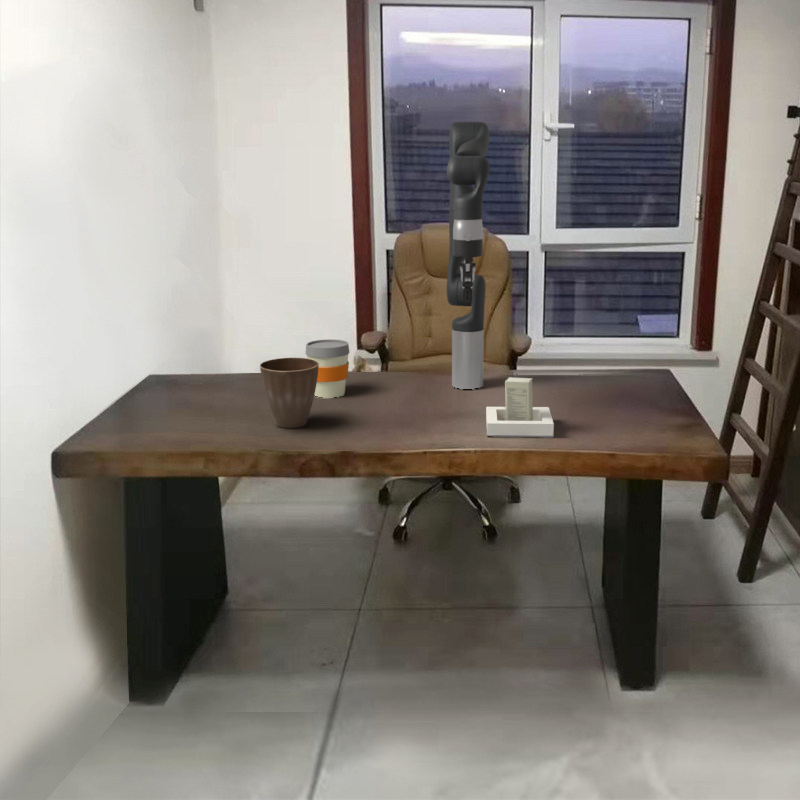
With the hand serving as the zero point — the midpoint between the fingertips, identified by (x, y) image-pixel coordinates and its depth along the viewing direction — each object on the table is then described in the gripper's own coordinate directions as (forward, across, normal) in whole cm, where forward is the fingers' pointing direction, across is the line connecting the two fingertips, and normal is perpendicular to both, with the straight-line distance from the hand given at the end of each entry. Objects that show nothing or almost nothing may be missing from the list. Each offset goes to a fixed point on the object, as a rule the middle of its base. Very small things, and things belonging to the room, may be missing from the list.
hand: (467, 300), depth 233 cm
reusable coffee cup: (+30, -18, -40) cm, 53 cm away
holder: (+30, +14, +13) cm, 36 cm away
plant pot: (+30, +12, -45) cm, 56 cm away
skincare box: (+30, +14, +13) cm, 35 cm away
